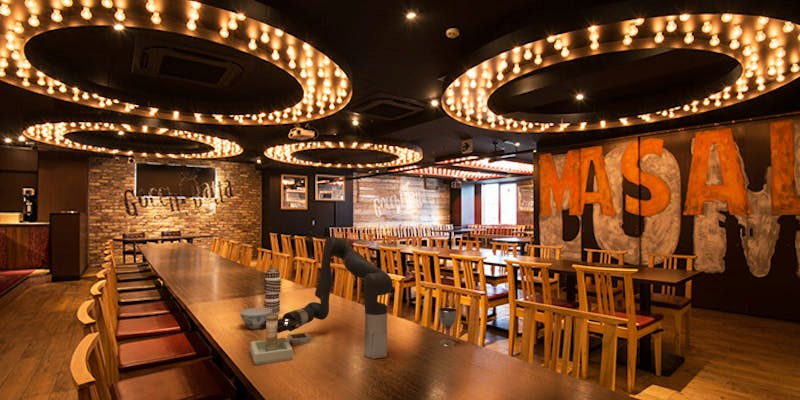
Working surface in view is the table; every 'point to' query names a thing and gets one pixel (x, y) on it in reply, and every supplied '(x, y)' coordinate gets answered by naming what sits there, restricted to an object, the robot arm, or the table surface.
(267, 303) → the decorative candle
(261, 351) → the tray
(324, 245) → the robot arm
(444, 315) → the wine glass
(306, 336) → the stop collar
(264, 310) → the chinaware
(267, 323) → the stop peg
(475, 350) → the table surface
